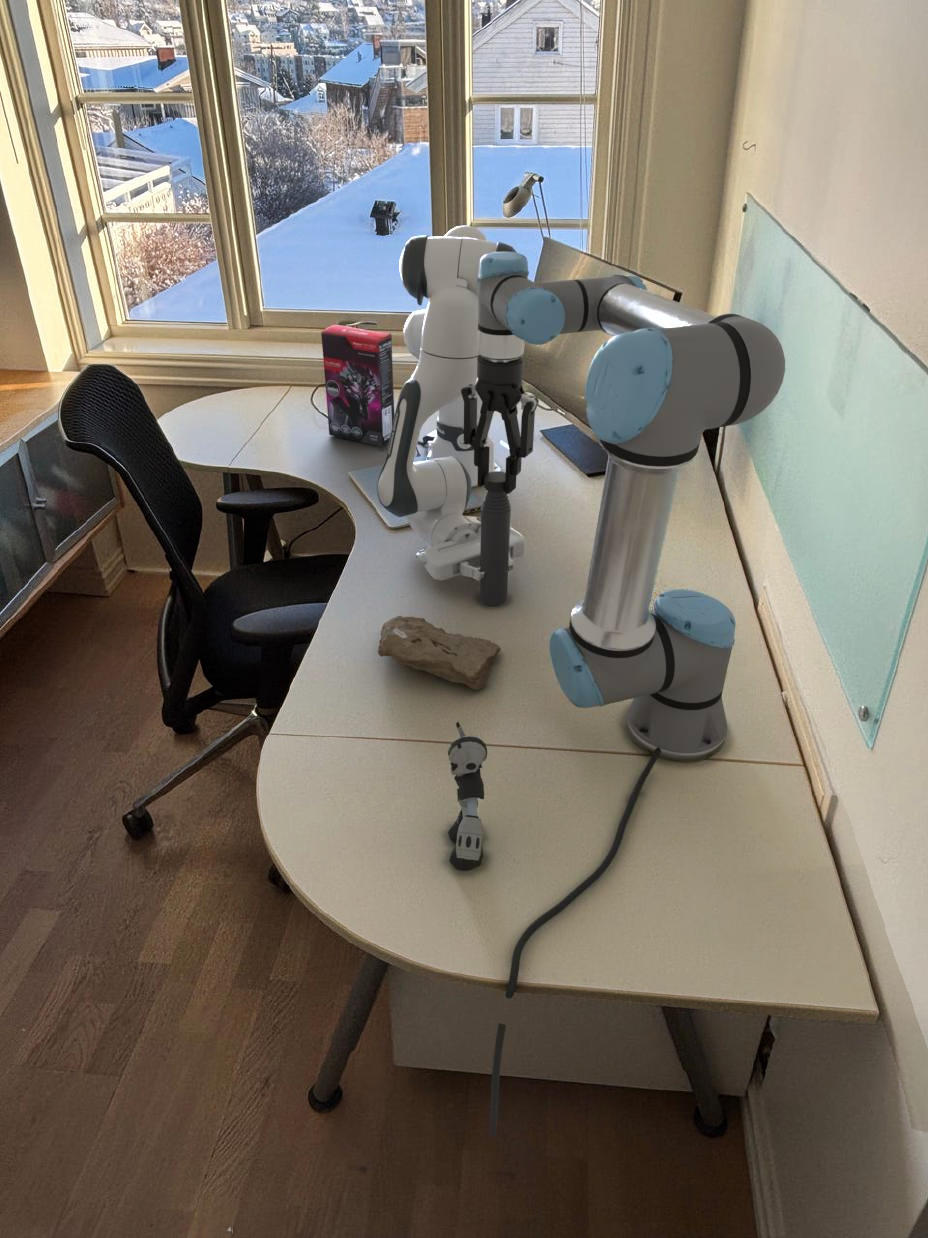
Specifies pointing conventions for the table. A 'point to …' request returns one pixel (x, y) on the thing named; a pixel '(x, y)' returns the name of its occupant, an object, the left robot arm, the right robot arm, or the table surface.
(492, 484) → the cap
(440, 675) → the stone
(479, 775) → the robot
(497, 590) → the bottle
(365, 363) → the graphics card box
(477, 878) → the table surface
